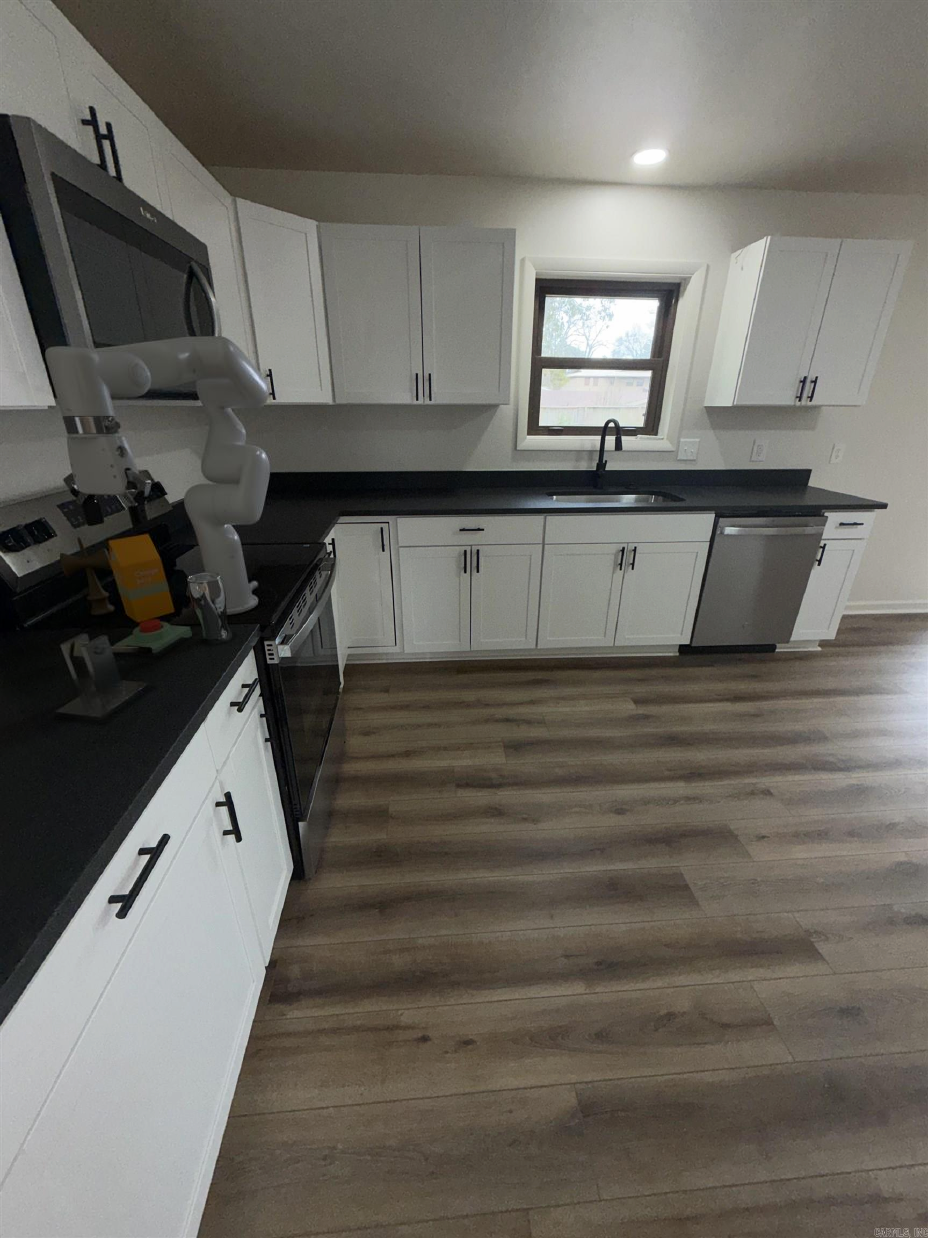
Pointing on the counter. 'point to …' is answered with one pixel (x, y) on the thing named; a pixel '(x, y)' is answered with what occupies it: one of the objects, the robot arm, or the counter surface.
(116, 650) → the stove lever
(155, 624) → the button
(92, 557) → the kendama
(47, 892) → the counter surface
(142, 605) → the orange juice
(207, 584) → the beer glass
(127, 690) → the lever bracket
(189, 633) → the button block
